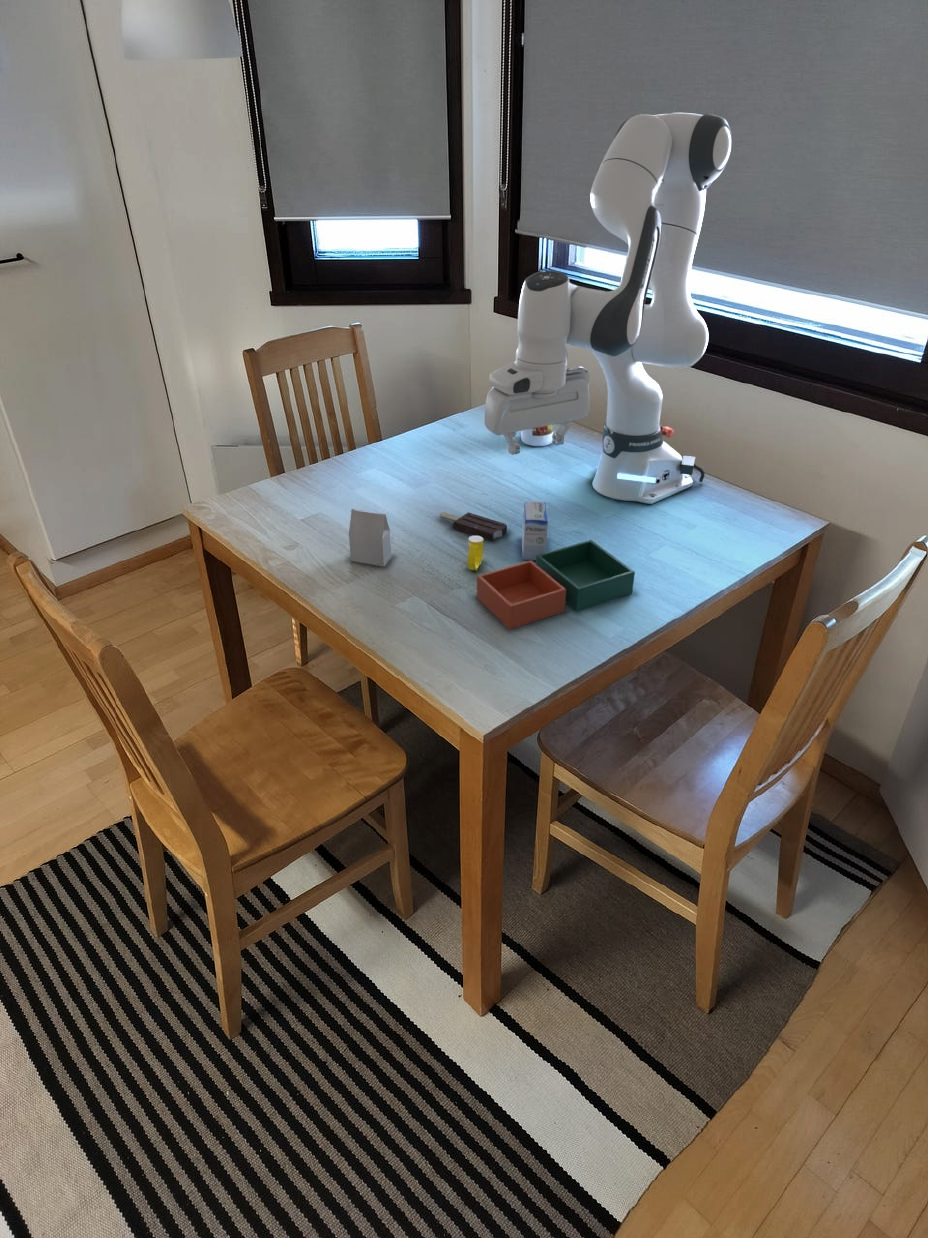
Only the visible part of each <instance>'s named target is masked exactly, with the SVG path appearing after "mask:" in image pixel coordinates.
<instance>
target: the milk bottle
mask: <svg viewBox="0 0 928 1238" xmlns="http://www.w3.org/2000/svg"><path fill="white" fill-rule="evenodd" d="M554 426H555V424H553V425H548V426H543V427H538V428H533V429H528V430H523V431H521V432H520V433H521V435H520V437H521V441H522V443H523V444H525V445H527V446H531V447H544V446H548V445H550V444H552V439H553V438H552V434H554V430H555V429H554V428H555V427H554Z"/></svg>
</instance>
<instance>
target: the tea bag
mask: <svg viewBox="0 0 928 1238" xmlns="http://www.w3.org/2000/svg"><path fill="white" fill-rule="evenodd" d="M350 512H351V513H350V520H349V527H348V528H349V530H348V541H349V552H350V553H349V554H350V555H349V556H350V562H355V563H361V564H366V565H370V566H371V565H372V566H377V567H384V568H385V566H386V565H387V564H388V562H389V561H390V560H391V559H392V543H391V542H392V541H391V540H392V539H391V529H390V526H389V523H388V519H387V514H386V513H380V512H375V511H367V510H361V509H356V508H351V510H350Z"/></svg>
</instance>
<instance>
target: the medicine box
mask: <svg viewBox="0 0 928 1238" xmlns="http://www.w3.org/2000/svg"><path fill="white" fill-rule="evenodd" d="M522 515H523V516H522V526H521V527H522V529H521V550H522V551H521V552H522V553H521V554H522V560H525V561H530V560H531V561H536V555H540V554H543V553H547V543H548V533H549V532H548V530H549V519H548V518H549V517H548V508H547V502H546V501H524V503H523V513H522Z"/></svg>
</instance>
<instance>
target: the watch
mask: <svg viewBox="0 0 928 1238" xmlns="http://www.w3.org/2000/svg"><path fill="white" fill-rule="evenodd" d="M484 541H485V539H484V538H482V537H481V536H474V535H471V536H469V537H468V544H469V547H468V552H467V567H468V569H469V571H478V569H479V567H480V566H481V564H482V560H483V556H484Z"/></svg>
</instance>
